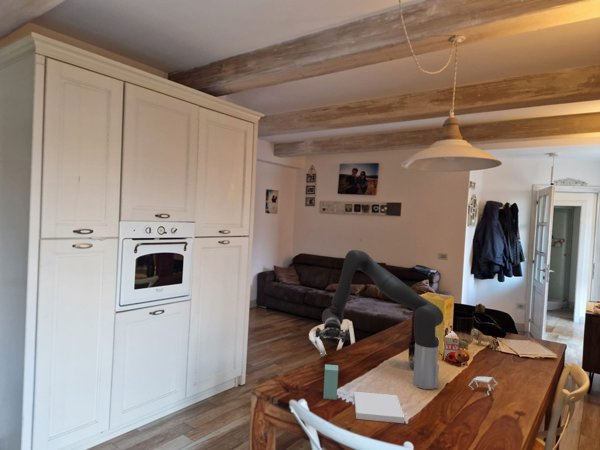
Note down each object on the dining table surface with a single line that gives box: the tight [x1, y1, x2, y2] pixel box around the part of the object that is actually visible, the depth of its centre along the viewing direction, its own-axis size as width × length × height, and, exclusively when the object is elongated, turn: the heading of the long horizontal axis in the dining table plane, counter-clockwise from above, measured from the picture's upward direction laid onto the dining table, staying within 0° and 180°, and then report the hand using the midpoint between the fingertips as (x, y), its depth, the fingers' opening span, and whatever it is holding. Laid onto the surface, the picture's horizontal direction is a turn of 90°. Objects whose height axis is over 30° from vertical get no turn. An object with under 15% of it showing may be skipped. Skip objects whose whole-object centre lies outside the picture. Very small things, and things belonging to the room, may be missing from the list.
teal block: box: [322, 364, 339, 401], centre depth 145 cm, size 5×5×11 cm
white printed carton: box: [443, 330, 460, 361], centre depth 197 cm, size 21×6×12 cm, turn 171°
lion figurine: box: [470, 328, 500, 351], centre depth 212 cm, size 15×5×9 cm, turn 51°
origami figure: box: [467, 376, 498, 396], centre depth 157 cm, size 12×8×5 cm
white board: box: [353, 391, 406, 424], centre depth 137 cm, size 16×16×2 cm
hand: (332, 339), depth 156 cm, fingers open, 8 cm apart
